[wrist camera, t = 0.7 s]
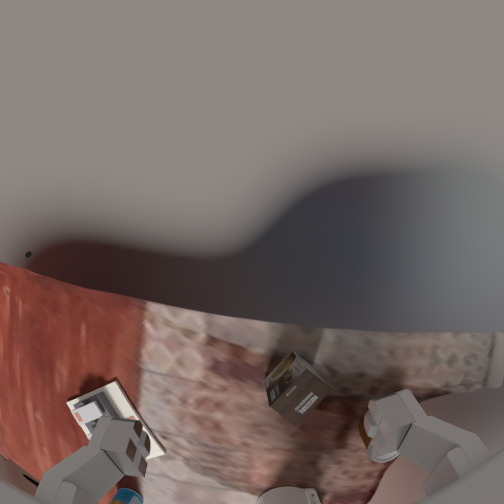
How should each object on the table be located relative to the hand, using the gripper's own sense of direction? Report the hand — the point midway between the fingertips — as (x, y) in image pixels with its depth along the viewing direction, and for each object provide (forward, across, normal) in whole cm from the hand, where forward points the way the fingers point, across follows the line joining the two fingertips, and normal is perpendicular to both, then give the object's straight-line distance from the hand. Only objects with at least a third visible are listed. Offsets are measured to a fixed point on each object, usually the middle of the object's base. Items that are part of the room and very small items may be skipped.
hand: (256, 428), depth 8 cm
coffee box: (+40, +8, -34) cm, 53 cm away
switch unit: (+34, -37, -48) cm, 70 cm away
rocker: (+32, -40, -40) cm, 65 cm away
